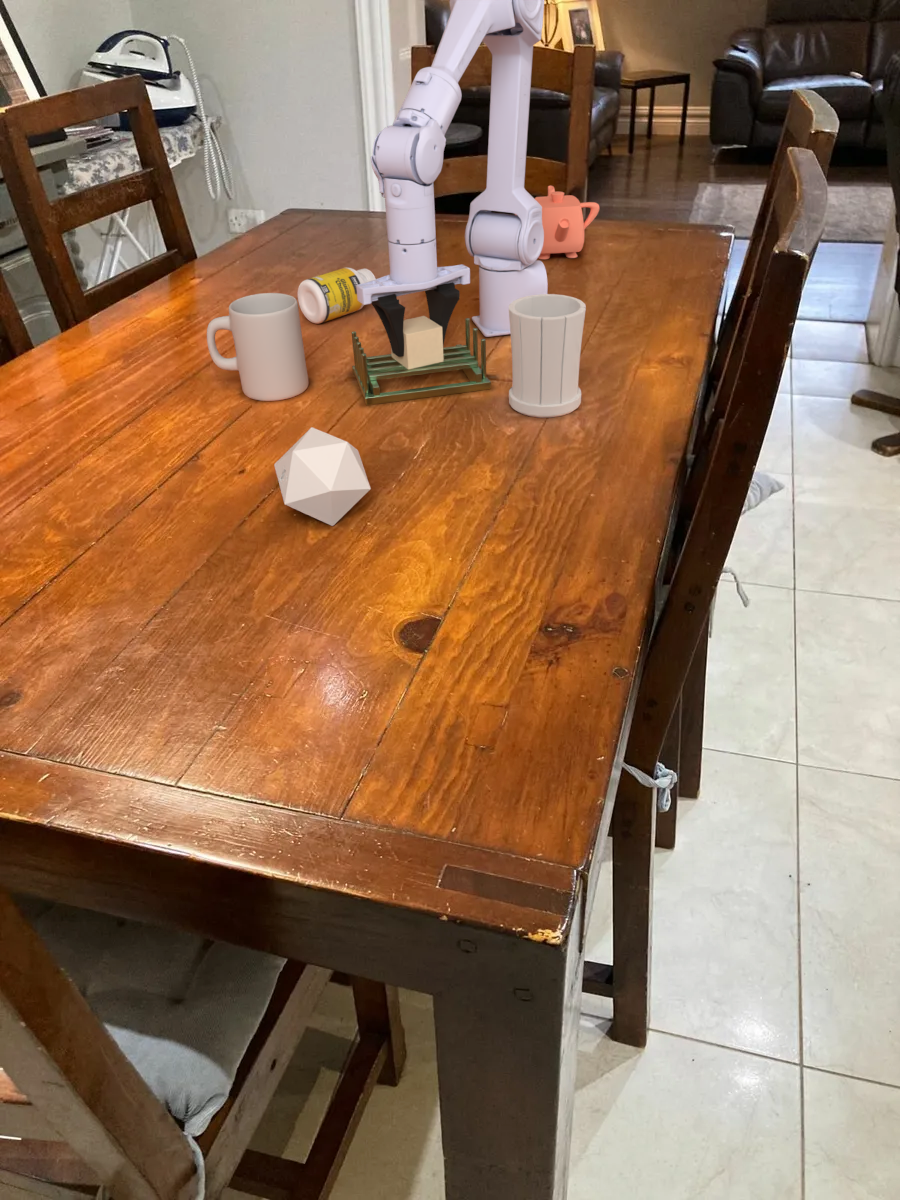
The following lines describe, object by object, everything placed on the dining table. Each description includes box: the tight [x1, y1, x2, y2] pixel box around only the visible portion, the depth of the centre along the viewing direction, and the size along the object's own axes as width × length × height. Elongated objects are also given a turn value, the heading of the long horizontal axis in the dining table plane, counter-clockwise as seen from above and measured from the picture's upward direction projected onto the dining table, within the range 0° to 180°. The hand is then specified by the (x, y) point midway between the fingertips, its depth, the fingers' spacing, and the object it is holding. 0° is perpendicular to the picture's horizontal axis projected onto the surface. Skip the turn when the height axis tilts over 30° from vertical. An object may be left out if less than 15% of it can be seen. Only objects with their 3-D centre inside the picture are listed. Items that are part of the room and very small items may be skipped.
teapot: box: [514, 185, 600, 260], centre depth 163 cm, size 14×12×10 cm
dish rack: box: [351, 317, 492, 406], centre depth 119 cm, size 16×11×6 cm
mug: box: [206, 292, 310, 402], centre depth 118 cm, size 12×8×11 cm
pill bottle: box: [297, 267, 377, 325], centre depth 141 cm, size 6×6×12 cm
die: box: [273, 426, 372, 527], centre depth 92 cm, size 8×9×10 cm
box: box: [390, 315, 444, 370], centre depth 118 cm, size 5×5×4 cm
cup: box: [508, 293, 587, 419], centre depth 111 cm, size 10×9×12 cm
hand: (418, 349), depth 118 cm, fingers closed on box, 5 cm apart
